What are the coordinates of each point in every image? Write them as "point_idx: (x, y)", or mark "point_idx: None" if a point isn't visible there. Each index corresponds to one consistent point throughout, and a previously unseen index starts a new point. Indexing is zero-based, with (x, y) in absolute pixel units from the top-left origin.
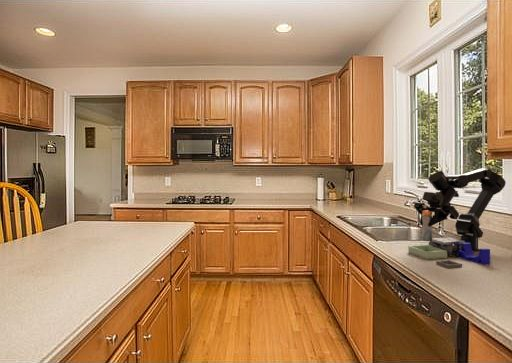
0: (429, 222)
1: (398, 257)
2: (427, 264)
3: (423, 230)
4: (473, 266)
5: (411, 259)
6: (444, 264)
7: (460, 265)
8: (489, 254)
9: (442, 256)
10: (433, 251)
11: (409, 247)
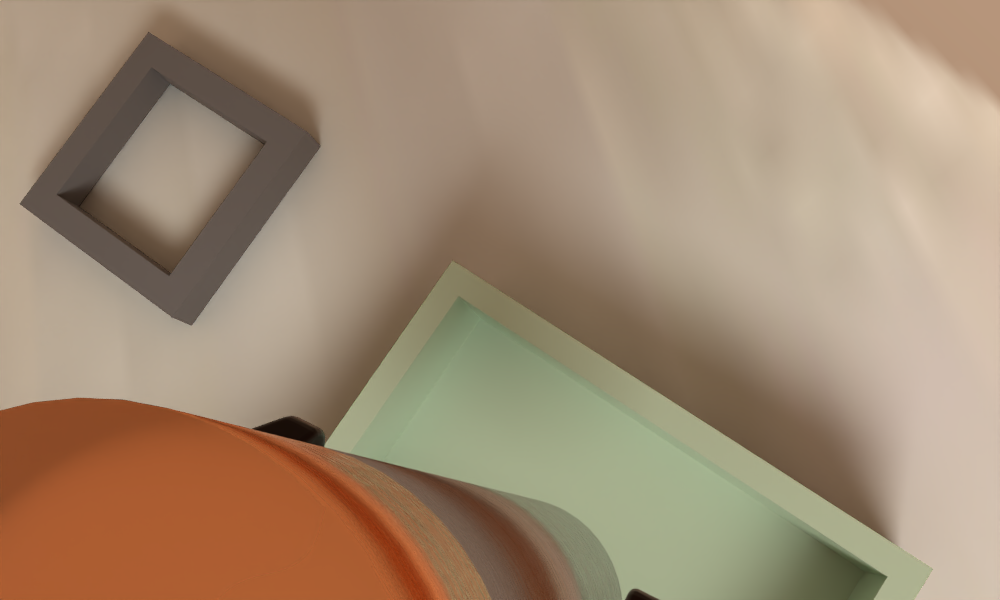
0: None
1: (876, 124)
2: (404, 42)
3: (540, 511)
4: None
5: (666, 145)
6: (197, 64)
7: (43, 188)
8: None
9: None
10: (381, 388)
11: (893, 545)
